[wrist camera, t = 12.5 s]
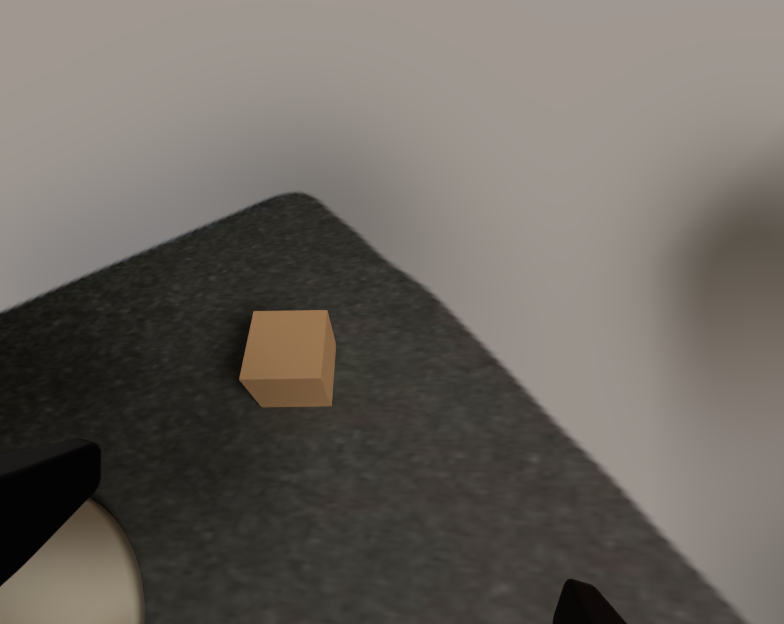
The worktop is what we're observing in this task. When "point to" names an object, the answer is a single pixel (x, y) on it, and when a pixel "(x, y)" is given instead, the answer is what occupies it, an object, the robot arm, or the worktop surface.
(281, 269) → the worktop surface
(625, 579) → the worktop surface
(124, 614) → the birch board
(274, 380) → the tan cube
